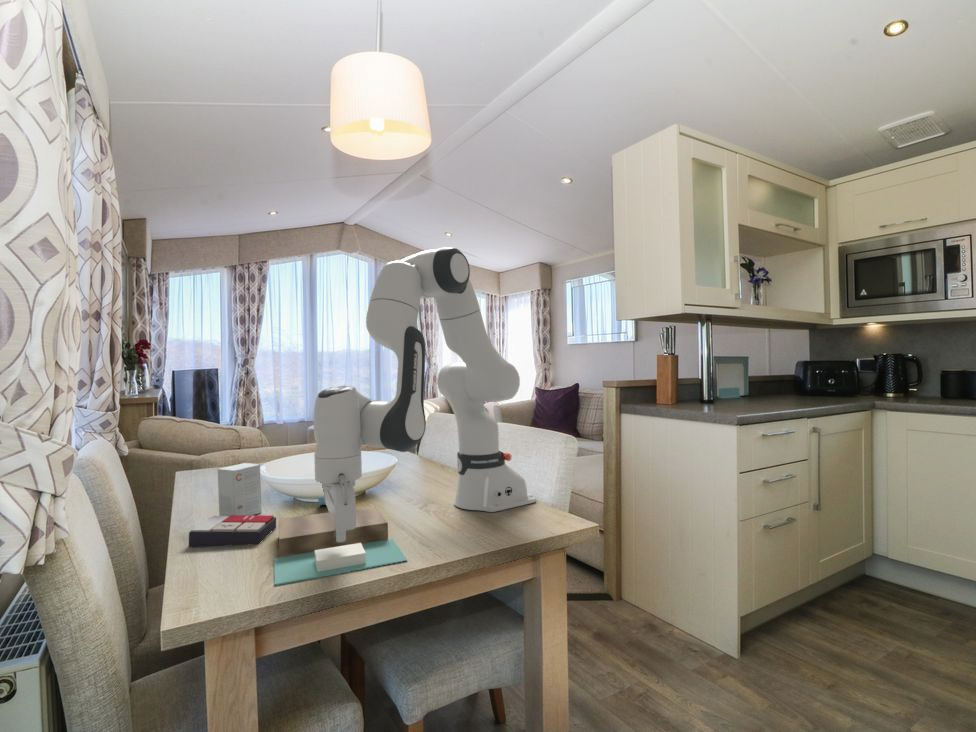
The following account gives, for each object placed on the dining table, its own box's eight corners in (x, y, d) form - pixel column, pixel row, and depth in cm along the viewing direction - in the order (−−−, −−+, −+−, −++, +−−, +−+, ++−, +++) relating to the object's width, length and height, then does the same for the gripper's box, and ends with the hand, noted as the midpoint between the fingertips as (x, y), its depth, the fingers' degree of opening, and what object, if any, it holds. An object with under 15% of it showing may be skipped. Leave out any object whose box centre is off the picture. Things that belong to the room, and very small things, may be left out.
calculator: (259, 529, 108) (188, 528, 107) (258, 548, 108) (187, 548, 107) (276, 513, 119) (212, 513, 118) (276, 531, 119) (211, 531, 118)
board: (375, 522, 122) (375, 506, 122) (388, 540, 109) (387, 522, 109) (278, 536, 113) (278, 519, 113) (279, 558, 100) (279, 539, 100)
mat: (392, 539, 109) (392, 538, 109) (407, 561, 97) (407, 559, 97) (274, 559, 100) (274, 558, 100) (274, 585, 88) (274, 584, 88)
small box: (246, 510, 134) (244, 462, 134) (262, 513, 132) (260, 464, 131) (218, 519, 127) (216, 468, 127) (234, 522, 124) (233, 470, 124)
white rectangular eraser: (365, 552, 96) (366, 563, 96) (360, 542, 102) (361, 552, 102) (316, 561, 92) (317, 571, 92) (314, 550, 98) (314, 560, 98)
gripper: (363, 478, 89) (365, 555, 89) (347, 459, 107) (349, 522, 107) (327, 482, 86) (329, 561, 86) (317, 461, 105) (318, 526, 105)
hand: (340, 539), depth 97 cm, fingers closed
